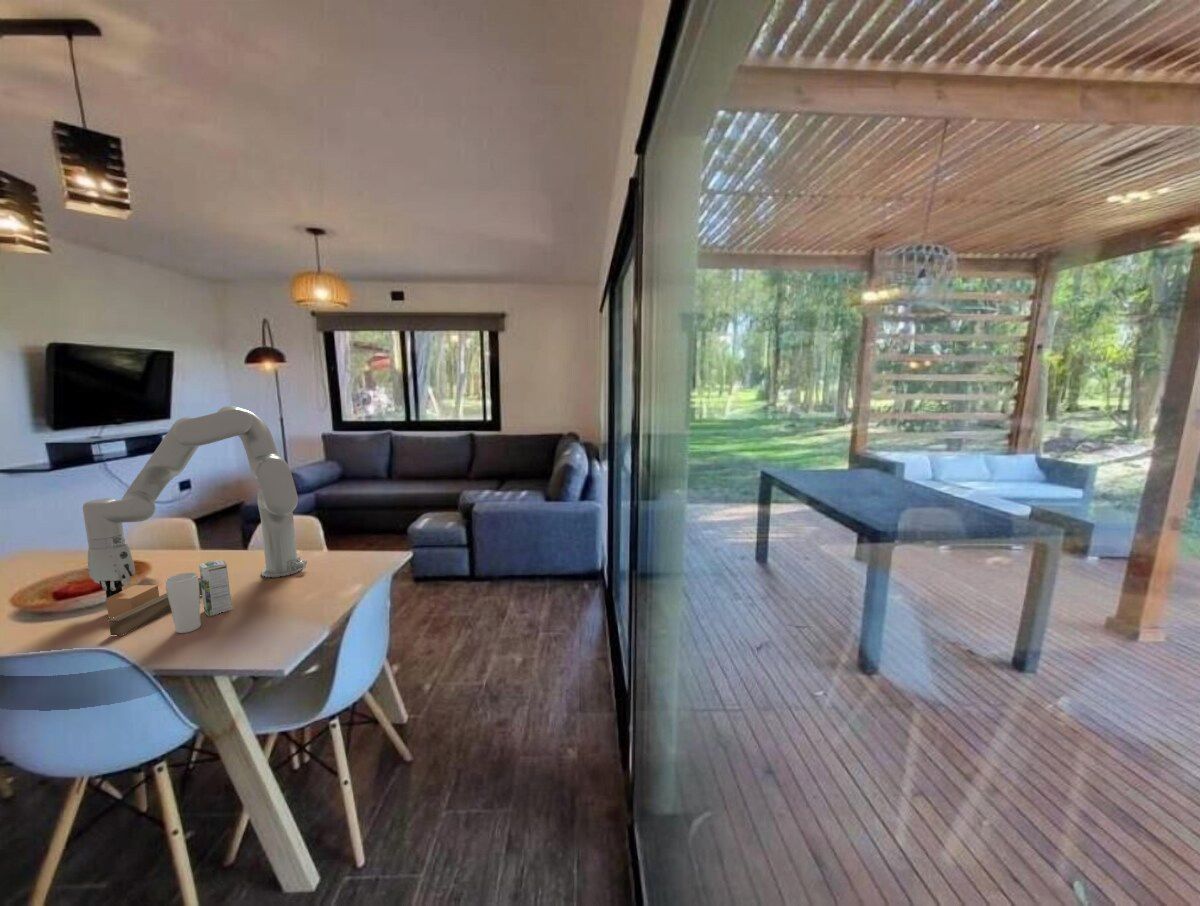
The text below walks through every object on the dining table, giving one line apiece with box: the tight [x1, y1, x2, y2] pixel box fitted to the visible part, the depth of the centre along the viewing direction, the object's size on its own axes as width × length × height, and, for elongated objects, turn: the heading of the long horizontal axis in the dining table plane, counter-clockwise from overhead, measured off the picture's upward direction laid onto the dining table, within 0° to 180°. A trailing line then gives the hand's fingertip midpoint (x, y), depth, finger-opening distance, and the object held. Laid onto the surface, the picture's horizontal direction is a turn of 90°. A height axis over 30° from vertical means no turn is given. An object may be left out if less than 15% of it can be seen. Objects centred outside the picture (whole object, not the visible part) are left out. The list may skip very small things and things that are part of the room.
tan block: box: [105, 584, 160, 619], centre depth 149 cm, size 7×9×6 cm
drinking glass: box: [165, 572, 202, 634], centre depth 137 cm, size 7×7×15 cm
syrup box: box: [198, 559, 232, 617], centre depth 148 cm, size 6×6×14 cm
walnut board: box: [107, 577, 202, 637], centre depth 148 cm, size 3×28×4 cm, turn 175°
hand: (115, 601), depth 149 cm, fingers closed
